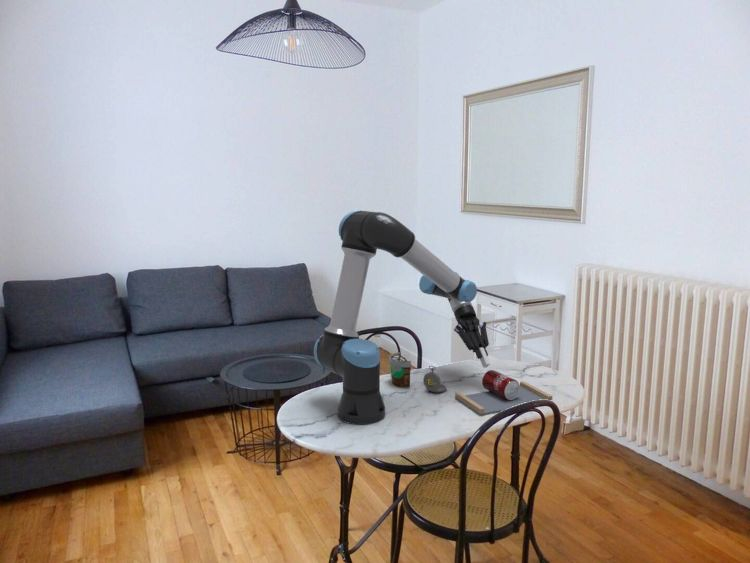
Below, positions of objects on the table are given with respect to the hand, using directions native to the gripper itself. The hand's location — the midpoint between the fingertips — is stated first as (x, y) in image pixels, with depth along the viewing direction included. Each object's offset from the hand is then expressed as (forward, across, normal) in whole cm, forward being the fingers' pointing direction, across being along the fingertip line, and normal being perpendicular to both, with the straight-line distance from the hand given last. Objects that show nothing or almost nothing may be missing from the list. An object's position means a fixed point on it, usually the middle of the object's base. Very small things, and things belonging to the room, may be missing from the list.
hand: (486, 365), depth 199 cm
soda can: (+4, 0, +3) cm, 5 cm away
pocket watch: (+2, -17, +11) cm, 20 cm away
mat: (+14, 0, -1) cm, 14 cm away
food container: (-6, -26, +20) cm, 33 cm away
